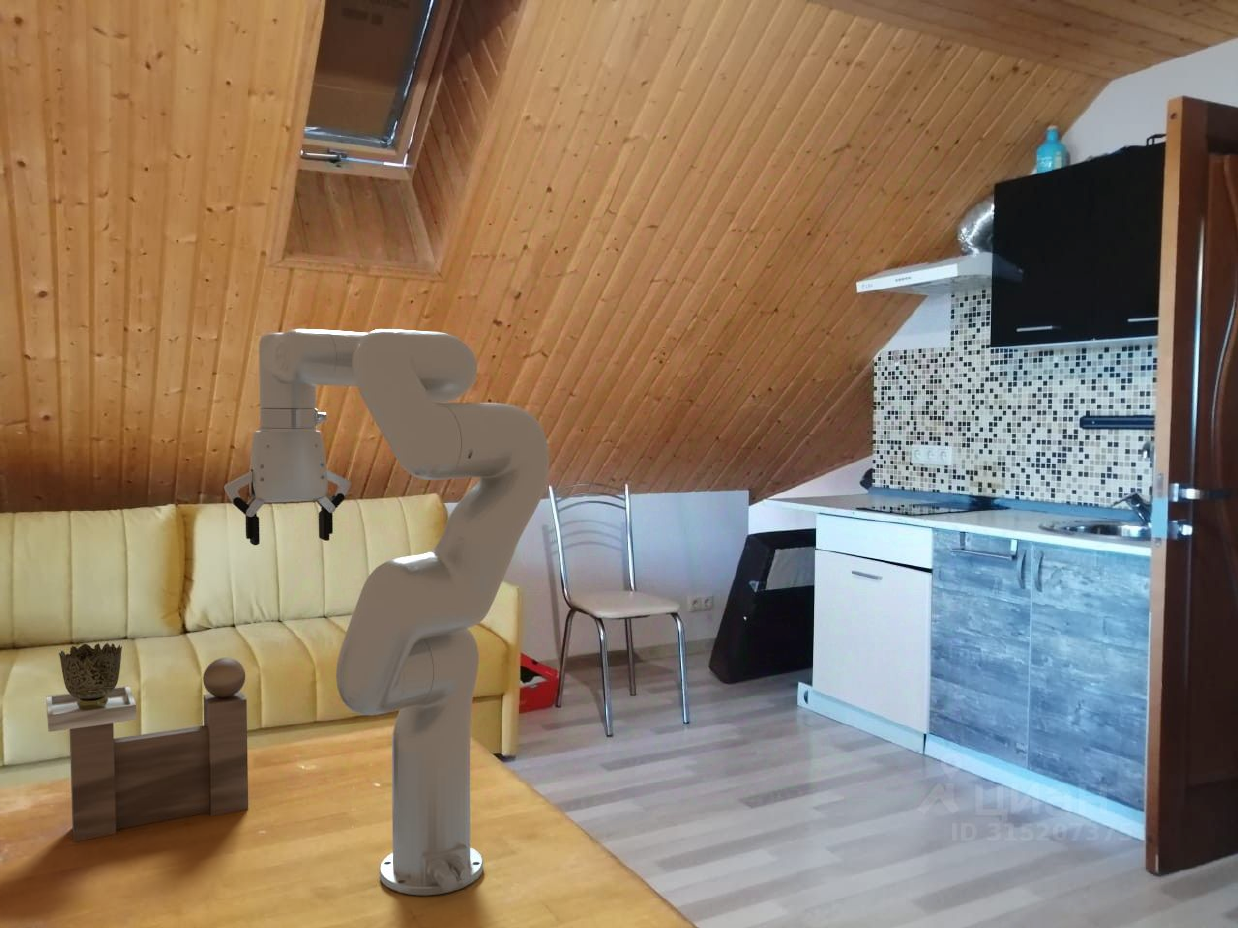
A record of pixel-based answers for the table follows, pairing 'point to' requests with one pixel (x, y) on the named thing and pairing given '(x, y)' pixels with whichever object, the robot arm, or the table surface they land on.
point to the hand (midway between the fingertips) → (290, 541)
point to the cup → (91, 673)
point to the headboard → (155, 759)
